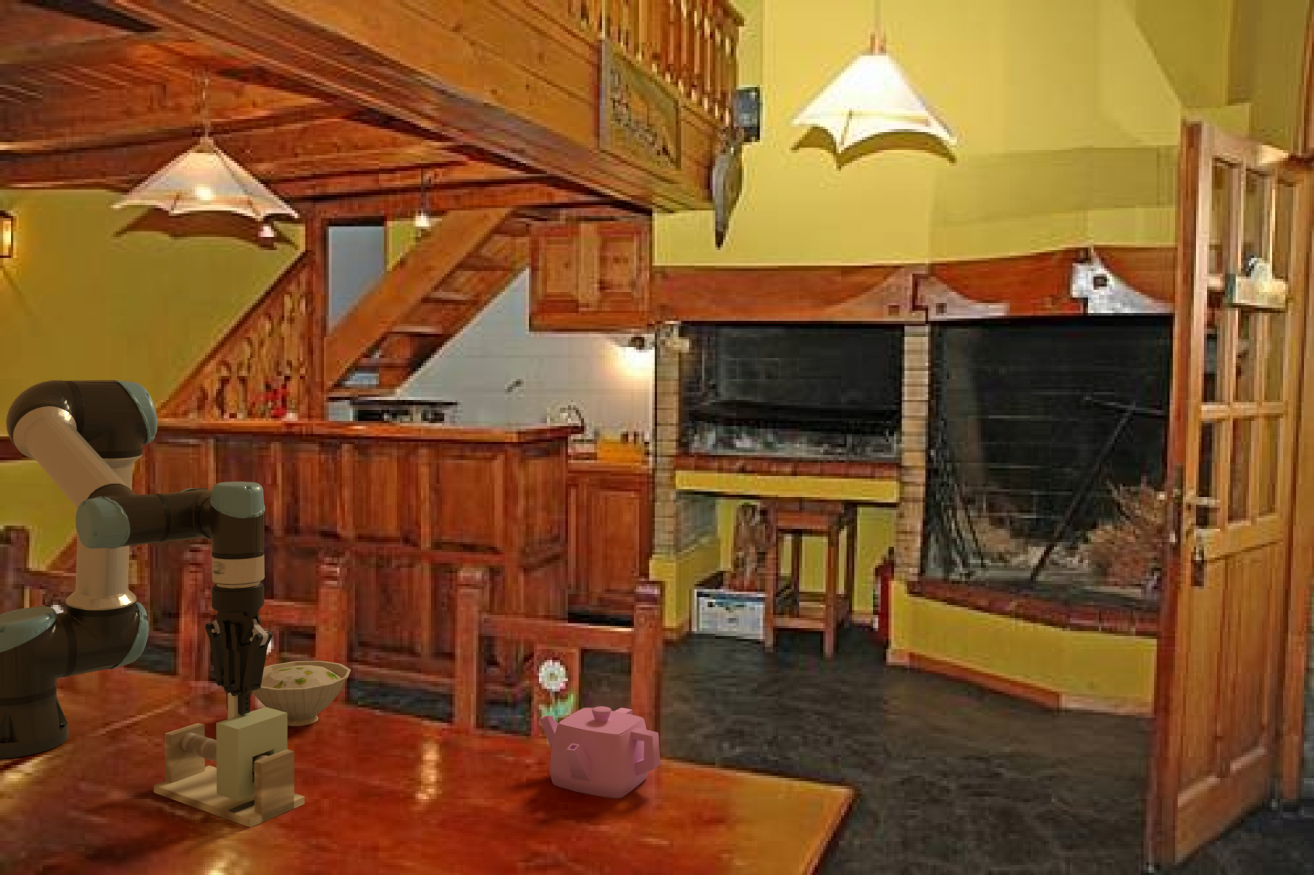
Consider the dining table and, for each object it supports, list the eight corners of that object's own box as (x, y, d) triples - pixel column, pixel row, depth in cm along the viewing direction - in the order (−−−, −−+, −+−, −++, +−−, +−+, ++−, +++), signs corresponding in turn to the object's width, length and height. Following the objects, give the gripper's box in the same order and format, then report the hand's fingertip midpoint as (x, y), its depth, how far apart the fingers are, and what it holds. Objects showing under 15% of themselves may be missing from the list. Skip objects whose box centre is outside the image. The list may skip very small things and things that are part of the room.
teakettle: (665, 794, 170) (667, 719, 169) (564, 807, 164) (566, 730, 163) (630, 757, 186) (631, 689, 185) (537, 768, 180) (538, 697, 179)
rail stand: (153, 792, 165) (153, 736, 165) (209, 772, 174) (208, 719, 173) (250, 827, 154) (250, 767, 153) (304, 804, 162) (304, 747, 162)
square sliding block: (216, 793, 158) (216, 722, 158) (265, 774, 166) (265, 706, 165) (238, 801, 156) (238, 729, 155) (287, 781, 163) (287, 712, 163)
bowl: (311, 697, 214) (311, 649, 213) (372, 717, 203) (372, 667, 202) (224, 722, 198) (224, 670, 198) (285, 745, 187) (285, 690, 187)
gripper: (189, 581, 160) (190, 731, 162) (245, 592, 154) (245, 748, 155) (231, 574, 167) (231, 718, 168) (286, 584, 160) (286, 734, 162)
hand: (238, 733), depth 162 cm, fingers closed
